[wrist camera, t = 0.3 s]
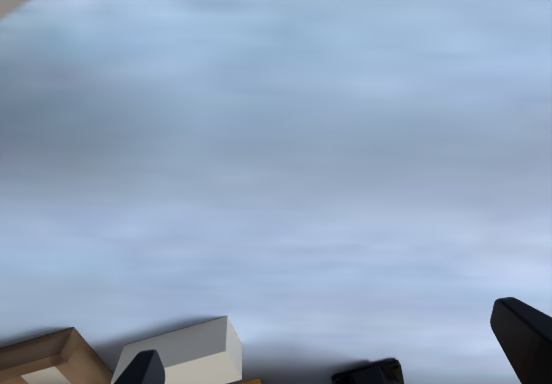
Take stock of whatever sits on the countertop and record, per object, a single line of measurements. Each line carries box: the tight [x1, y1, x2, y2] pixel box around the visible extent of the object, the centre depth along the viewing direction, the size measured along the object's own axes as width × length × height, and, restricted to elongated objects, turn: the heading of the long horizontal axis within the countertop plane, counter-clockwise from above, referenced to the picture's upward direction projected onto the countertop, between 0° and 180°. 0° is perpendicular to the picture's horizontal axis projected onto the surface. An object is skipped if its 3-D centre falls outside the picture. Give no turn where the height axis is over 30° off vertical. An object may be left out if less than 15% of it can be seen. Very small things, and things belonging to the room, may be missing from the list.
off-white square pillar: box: [111, 316, 242, 384], centre depth 27 cm, size 9×4×4 cm, turn 107°
